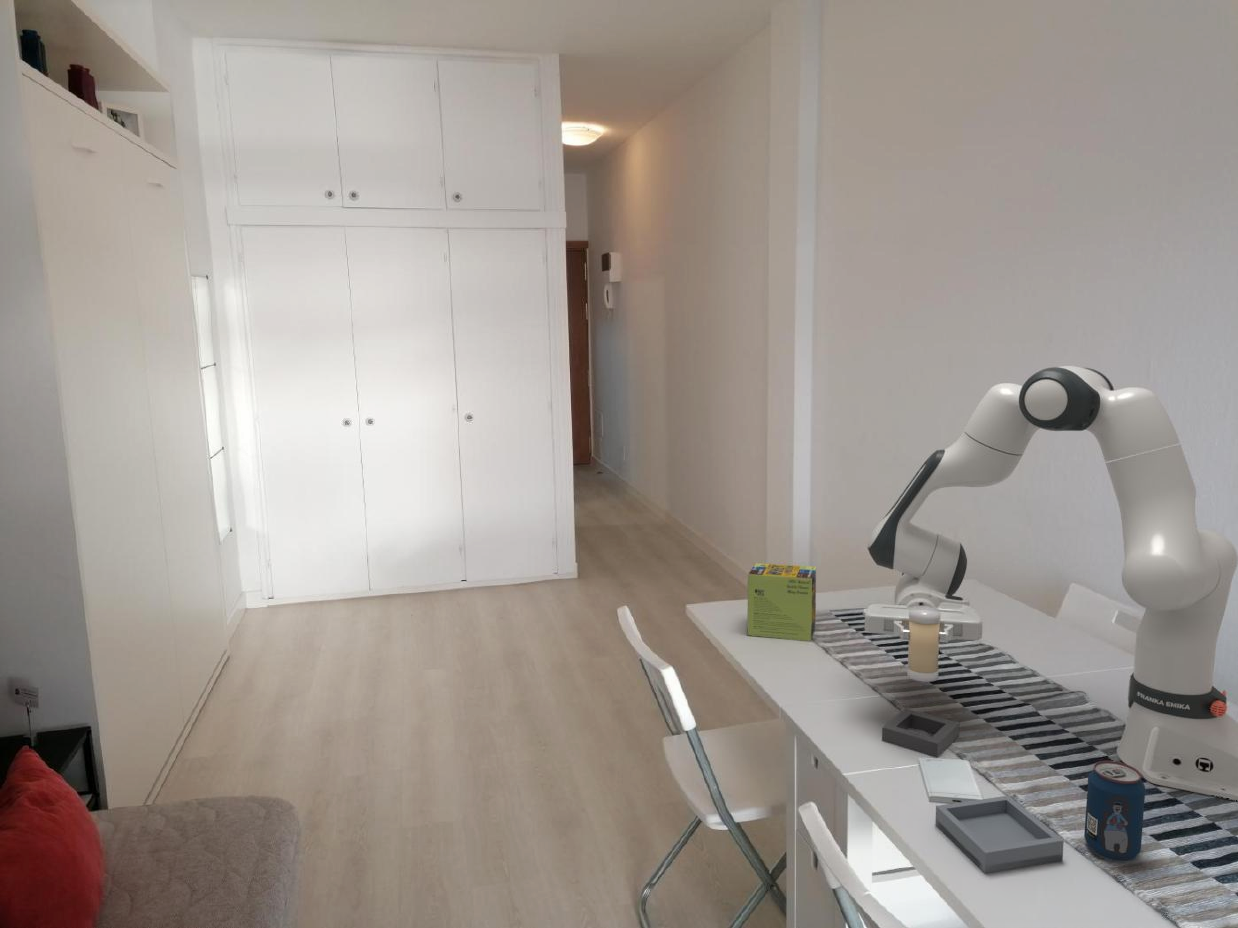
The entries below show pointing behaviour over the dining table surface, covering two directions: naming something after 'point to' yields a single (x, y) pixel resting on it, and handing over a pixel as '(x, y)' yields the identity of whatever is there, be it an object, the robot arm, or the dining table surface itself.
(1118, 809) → the soda can
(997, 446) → the robot arm
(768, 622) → the protein box
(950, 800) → the hard drive
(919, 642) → the cartridge fuse
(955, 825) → the parts tray
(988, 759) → the dining table surface
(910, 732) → the fuse holder
